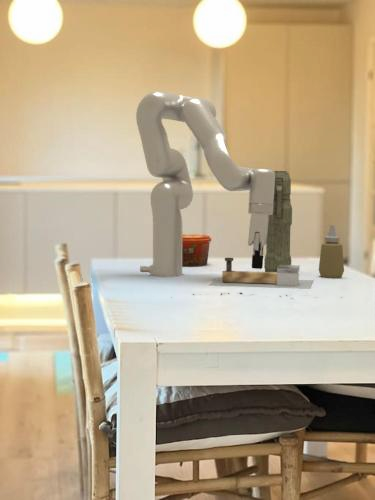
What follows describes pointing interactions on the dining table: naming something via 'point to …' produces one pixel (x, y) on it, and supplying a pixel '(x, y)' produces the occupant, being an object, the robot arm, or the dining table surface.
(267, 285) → the base plate
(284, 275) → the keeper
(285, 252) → the olive green pillar
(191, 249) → the food container
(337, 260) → the squeeze bottle
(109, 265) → the dining table surface
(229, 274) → the oak link
